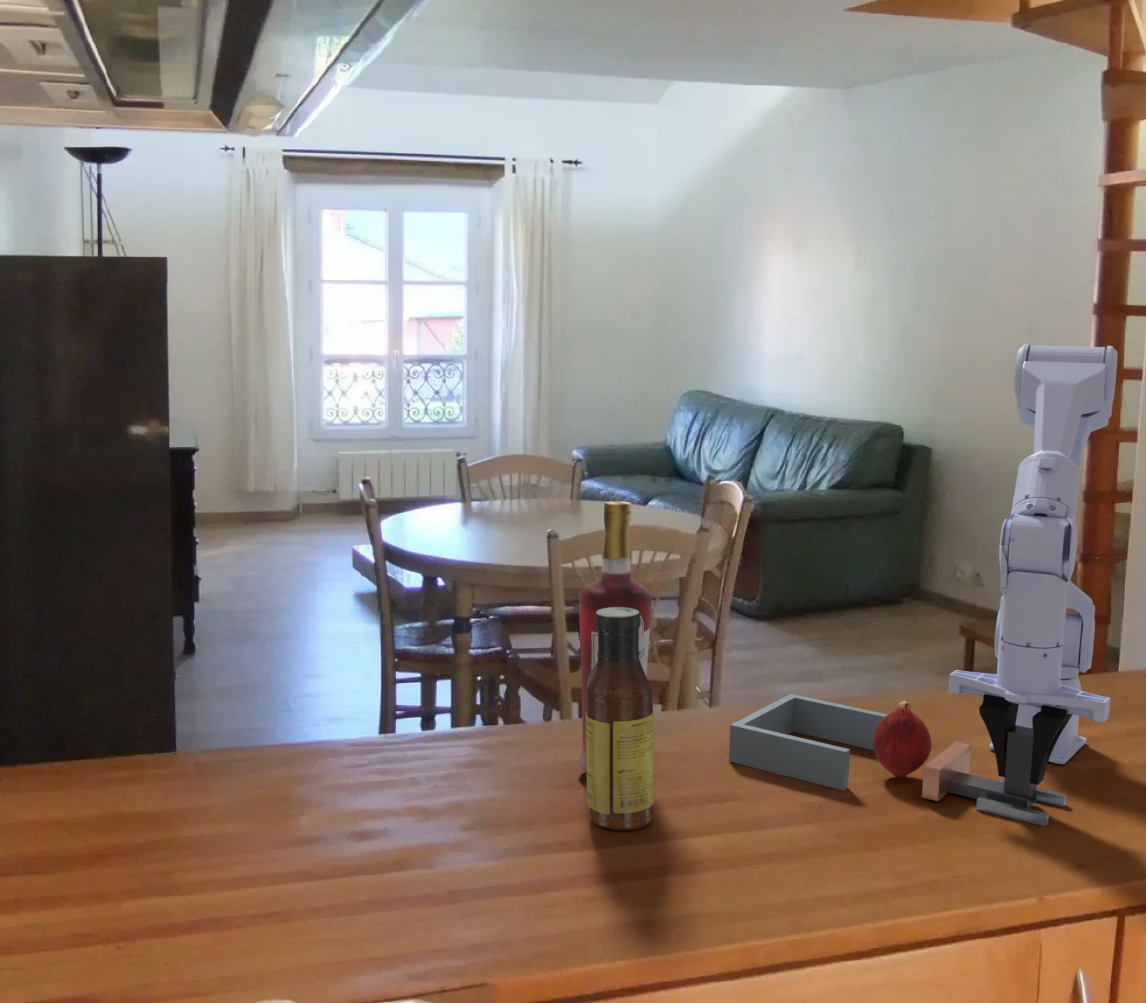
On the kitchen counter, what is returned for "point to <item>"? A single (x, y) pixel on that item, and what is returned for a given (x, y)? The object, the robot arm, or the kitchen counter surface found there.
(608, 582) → the liquor
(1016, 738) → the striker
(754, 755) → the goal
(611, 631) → the sauce bottle
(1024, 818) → the rail
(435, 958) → the kitchen counter surface
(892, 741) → the onion
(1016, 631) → the robot arm
